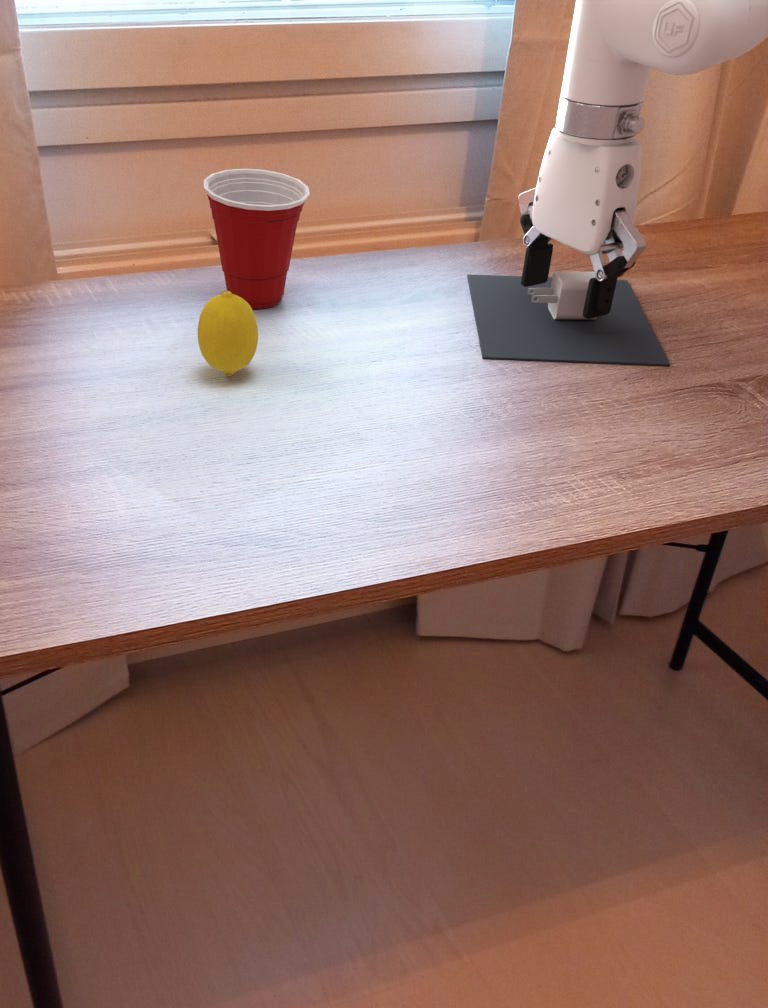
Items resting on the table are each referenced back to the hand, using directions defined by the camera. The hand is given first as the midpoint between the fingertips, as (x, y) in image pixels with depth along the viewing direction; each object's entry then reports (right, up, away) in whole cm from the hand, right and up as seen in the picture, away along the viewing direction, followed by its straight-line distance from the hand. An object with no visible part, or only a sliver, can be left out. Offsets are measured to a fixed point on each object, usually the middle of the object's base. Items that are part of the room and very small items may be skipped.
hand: (563, 299), depth 106 cm
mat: (0, -1, +1) cm, 2 cm away
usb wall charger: (0, -1, +2) cm, 2 cm away
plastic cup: (-32, +1, +4) cm, 32 cm away
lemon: (-34, -11, -10) cm, 37 cm away
